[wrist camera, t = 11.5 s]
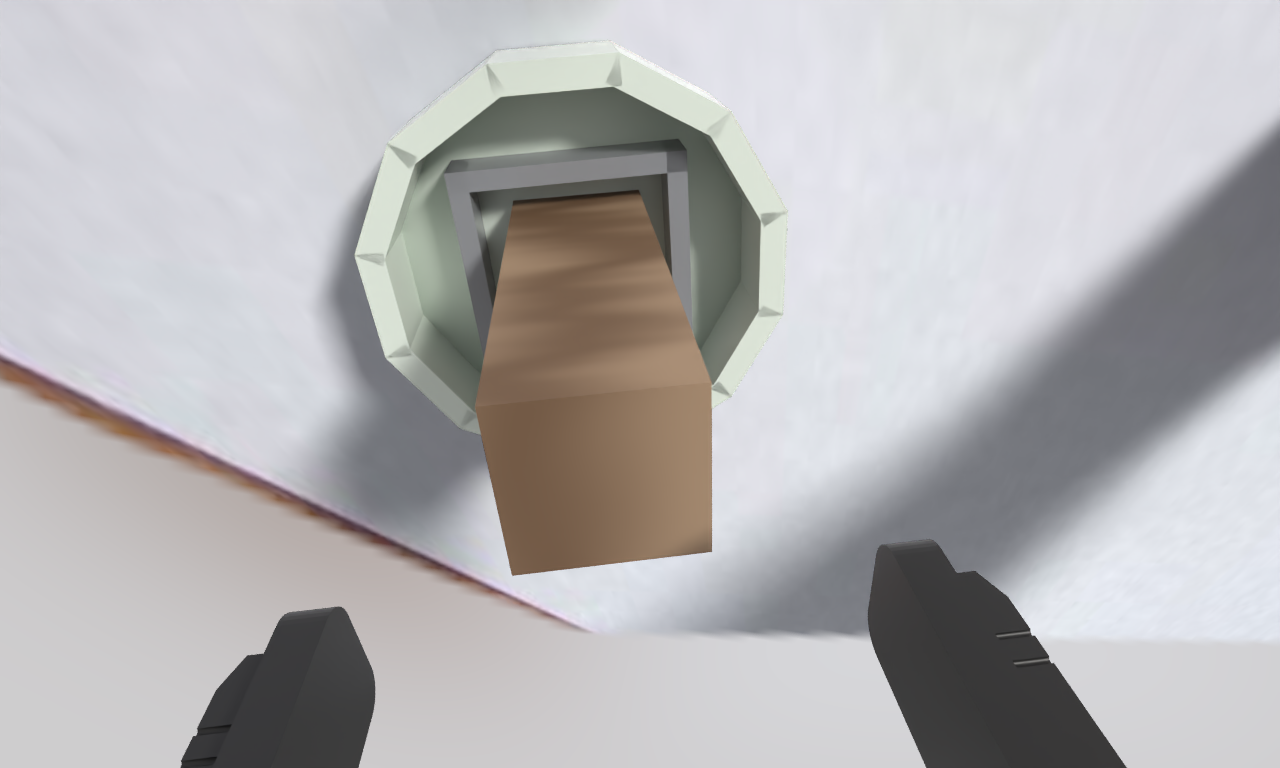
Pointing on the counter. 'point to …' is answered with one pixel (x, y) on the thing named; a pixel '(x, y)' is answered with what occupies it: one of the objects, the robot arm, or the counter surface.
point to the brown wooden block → (593, 392)
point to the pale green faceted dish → (564, 166)
